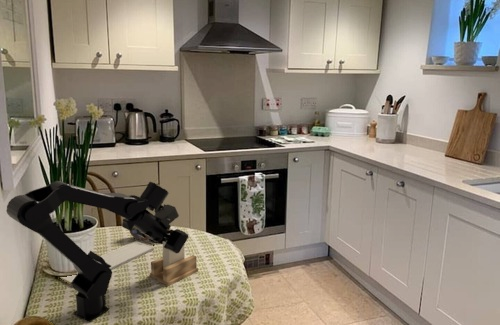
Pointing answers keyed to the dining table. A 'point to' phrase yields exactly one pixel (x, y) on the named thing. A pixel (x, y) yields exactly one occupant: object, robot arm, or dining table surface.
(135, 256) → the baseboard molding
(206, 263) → the dining table surface
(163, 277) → the wooden slotted stand
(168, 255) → the off-white rectangular block
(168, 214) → the robot arm
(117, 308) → the dining table surface
